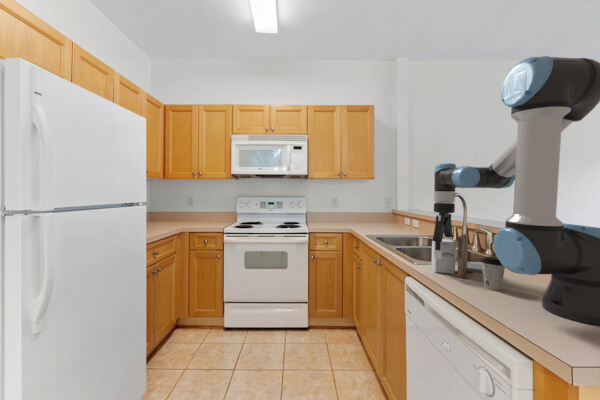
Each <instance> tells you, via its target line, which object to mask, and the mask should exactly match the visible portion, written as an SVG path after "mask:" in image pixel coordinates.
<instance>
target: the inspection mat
mask: <svg viewBox="0 0 600 400" xmlns="http://www.w3.org/2000/svg"><path fill="white" fill-rule="evenodd" d="M467 269H470V270H473V273H479V274H483V269H482V264H478V263H471V262H467Z"/></svg>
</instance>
